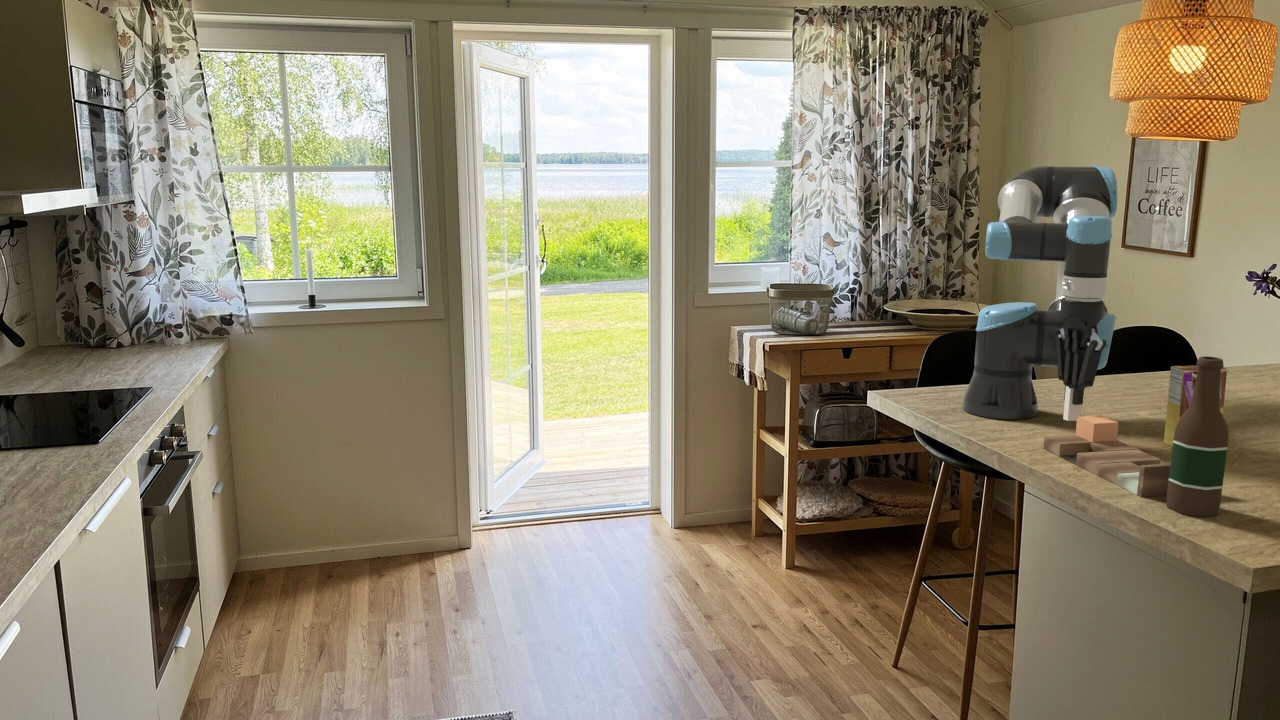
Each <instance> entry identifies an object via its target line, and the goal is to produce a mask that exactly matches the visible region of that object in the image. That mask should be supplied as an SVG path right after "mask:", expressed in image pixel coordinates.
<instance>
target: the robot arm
mask: <svg viewBox="0 0 1280 720" xmlns="http://www.w3.org/2000/svg"><path fill="white" fill-rule="evenodd" d="M1117 182H1118V181H1117V176H1116V174H1115V172H1114V170H1113V169H1112V168H1111V167H1108V166H1097V165H1091V166H1048V165H1047V166H1046V165H1045V166H1044V165H1043V166H1036V167H1032V168H1031V167H1030V168H1027V169H1025V170H1023V171H1021V172H1020V171H1019V172H1018V173H1016V174H1014V175H1013V176H1011V177H1010V178H1009V179H1007V180H1006V181H1005V182H1004V184H1003V185H1002V186H1001V188H1000V190H999V192H998V194H997V195H998V196H997V207H998V209H999V211H1000V215H999V219H998V221H991V222H989V223H988V224H987V228H986V236H985V249H984V251H985V252H984V253H985V256H986V257H987V259H992V260H1001V261H1033V262H1034V261H1037V262H1057V273H1056V274H1057V275H1056V292H1055V293H1056V294H1055V297H1056V298H1055V299H1054V300H1053V301H1052V302H1051V303H1050V304H1049V306H1048V308H1047V310H1039V307H1038V304H1036V303H1035V302H1023V301H1020V302H1016V301H1015V302H1005V303H997V304H991V305H988V306H985V307H983V308H981V310H979V313H978V318H977V325H976V328H975V331H976V341H975V353H974V366H973V367H974V368H973V374H972V376H971V379H970V382H969V384H968V386H967V388H966V391H965V394H964V396H963V401H962V409H963V410H964V411H965V412H967V413H969V414H972V415H975V416H979V417H984V418H989V419H998V420H1025V419H1026V420H1027V419H1031V418H1034V417H1036V416H1038V410H1039V403H1038V398H1037V395H1036V392H1035V391H1036V390H1035V388H1034V383H1033V379H1032V376H1033V375H1032V374H1033V367H1035V366H1036V367H1037V366H1038V367H1048V368H1049V367H1051V368H1057V378H1058V380H1059V381H1062V382H1063V385H1064V387H1065V388H1064V395H1063V399H1064V400H1063V401H1064V404H1063V417H1062V419H1063V420H1064V421H1067V422H1077V417H1081V416H1082V405H1083V403H1084V394H1085V389H1086V388H1088V387H1089V388H1090V387H1093V386H1094V384H1095V383H1094V382H1095V379H1096V375H1097V370H1101V369H1103V368H1105V367H1106V366H1107V363H1108V358H1109V354H1110V350H1111V349H1110V348H1111V344H1112V338H1113V334H1114V330H1115V325H1116V320H1117V317H1116V315H1115V314H1112V313H1110V312H1108V308H1107V305H1106V304H1105V302H1104V300H1102V299H1104V298H1106V296H1107V295H1106V294H1107V285H1108V283H1107V282H1108V267H1109V258H1110V250H1111V249H1110V248H1111V247H1110V246H1111V239H1112V237H1113V233H1112V232H1113V231H1112V226H1113V225H1112V223H1113V222H1112V221H1113V220H1112V219H1113V218H1114V217H1115V216H1116V212H1117V209H1118V207H1117V206H1118V184H1117ZM1038 217H1041V218H1053V222H1052V223H1051V222H1038Z"/></svg>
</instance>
